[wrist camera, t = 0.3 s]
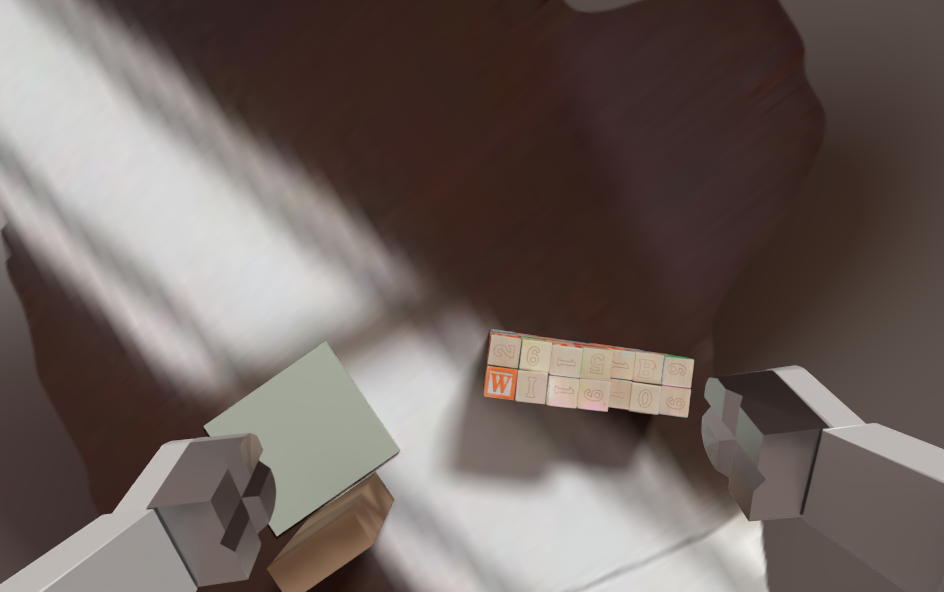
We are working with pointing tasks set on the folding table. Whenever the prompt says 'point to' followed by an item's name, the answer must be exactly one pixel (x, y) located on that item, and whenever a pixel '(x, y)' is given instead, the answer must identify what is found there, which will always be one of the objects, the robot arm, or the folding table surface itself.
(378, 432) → the mat
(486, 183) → the folding table surface
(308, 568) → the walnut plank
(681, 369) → the stack of blocks
